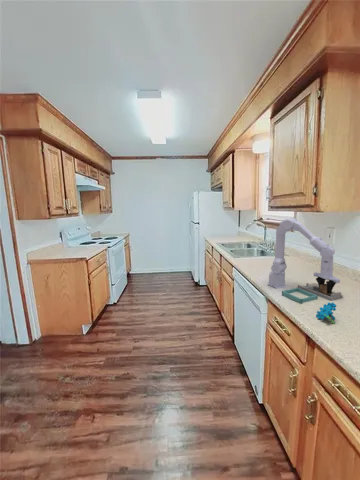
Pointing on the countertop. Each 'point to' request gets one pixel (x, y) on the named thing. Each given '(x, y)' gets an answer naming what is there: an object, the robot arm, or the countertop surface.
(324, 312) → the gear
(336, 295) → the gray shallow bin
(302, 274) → the countertop surface
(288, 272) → the countertop surface
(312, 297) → the tray
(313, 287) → the light grey block
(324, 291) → the stop block
